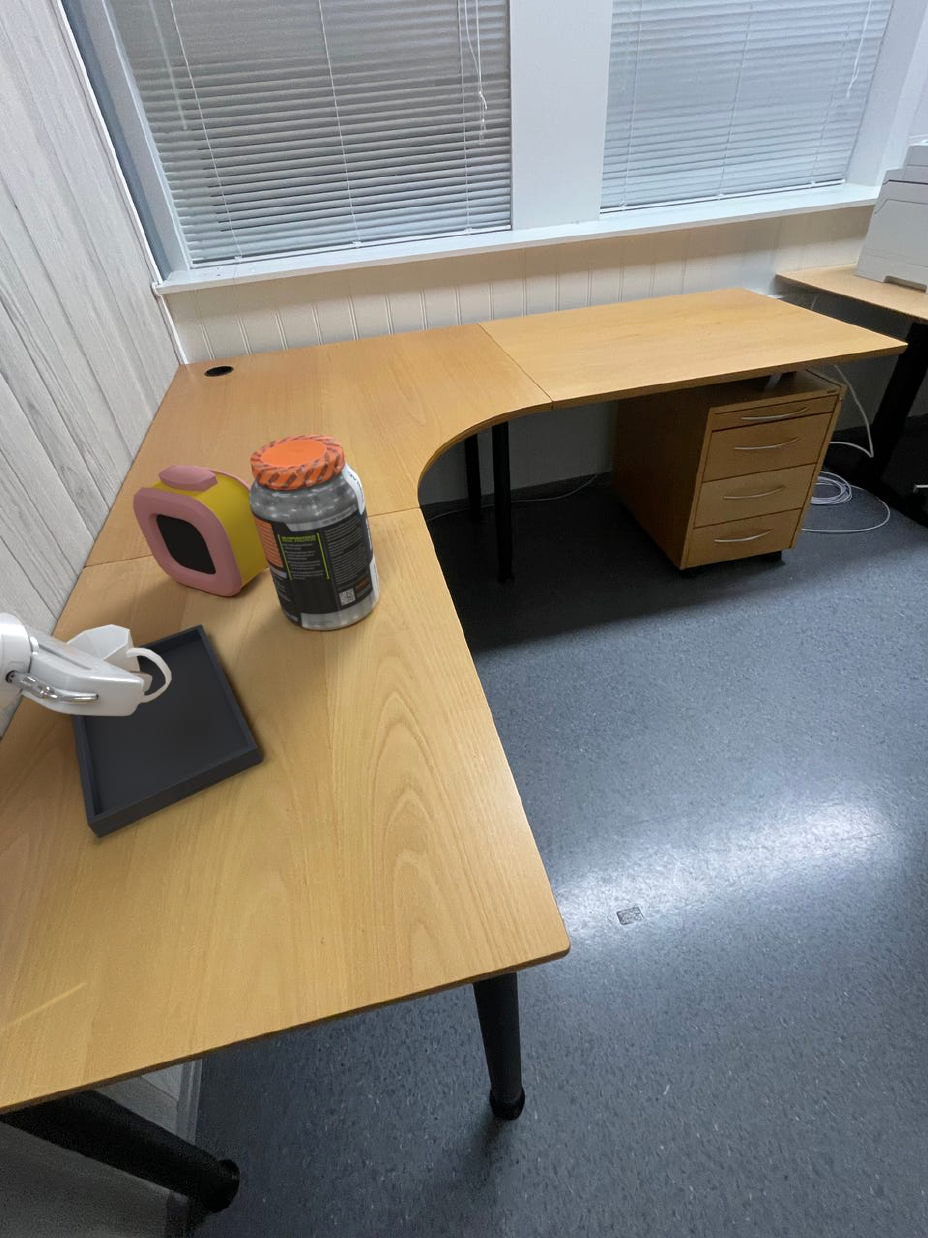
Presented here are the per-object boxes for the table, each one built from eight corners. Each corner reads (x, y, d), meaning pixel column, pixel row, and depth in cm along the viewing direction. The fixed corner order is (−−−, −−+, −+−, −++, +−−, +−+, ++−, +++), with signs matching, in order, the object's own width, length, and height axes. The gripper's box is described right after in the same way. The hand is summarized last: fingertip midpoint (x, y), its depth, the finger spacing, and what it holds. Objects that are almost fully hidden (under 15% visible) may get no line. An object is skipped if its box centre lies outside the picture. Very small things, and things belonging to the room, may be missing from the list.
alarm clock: (160, 581, 104) (113, 478, 91) (206, 548, 111) (168, 449, 99) (243, 607, 97) (206, 500, 85) (286, 570, 105) (257, 467, 92)
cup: (110, 680, 70) (80, 624, 65) (193, 678, 69) (169, 621, 65) (76, 724, 64) (41, 666, 60) (167, 722, 64) (138, 664, 59)
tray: (263, 761, 73) (256, 747, 72) (98, 838, 66) (87, 825, 64) (207, 637, 92) (201, 623, 90) (74, 687, 85) (64, 673, 83)
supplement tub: (393, 579, 101) (372, 431, 85) (361, 641, 90) (329, 483, 73) (307, 570, 104) (270, 425, 88) (264, 629, 93) (213, 474, 76)
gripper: (64, 662, 48) (196, 670, 61) (-75, 595, 56) (68, 615, 69) (39, 737, 48) (177, 730, 61) (-97, 660, 56) (51, 667, 68)
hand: (118, 668), depth 65 cm, fingers closed on cup, 7 cm apart
